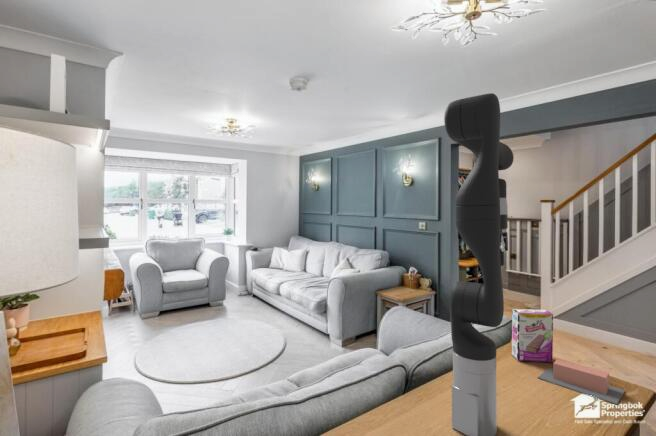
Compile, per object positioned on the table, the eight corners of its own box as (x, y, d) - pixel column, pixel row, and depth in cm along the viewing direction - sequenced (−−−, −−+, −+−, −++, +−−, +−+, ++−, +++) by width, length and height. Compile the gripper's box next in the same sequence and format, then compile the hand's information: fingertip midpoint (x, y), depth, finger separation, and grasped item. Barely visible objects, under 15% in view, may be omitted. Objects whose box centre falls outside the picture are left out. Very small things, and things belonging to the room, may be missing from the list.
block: (553, 378, 97) (605, 394, 88) (553, 363, 97) (605, 377, 88) (557, 373, 100) (609, 388, 91) (557, 358, 100) (608, 372, 91)
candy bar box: (518, 362, 109) (517, 312, 109) (511, 355, 114) (511, 308, 114) (554, 363, 108) (553, 313, 108) (545, 356, 113) (545, 309, 113)
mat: (616, 404, 84) (616, 403, 84) (537, 378, 98) (537, 377, 98) (625, 391, 90) (625, 390, 90) (549, 368, 104) (549, 367, 104)
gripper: (495, 213, 92) (495, 271, 92) (516, 213, 101) (516, 265, 101) (469, 213, 98) (470, 268, 98) (491, 213, 107) (492, 263, 107)
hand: (493, 266), depth 100 cm, fingers open, 8 cm apart
